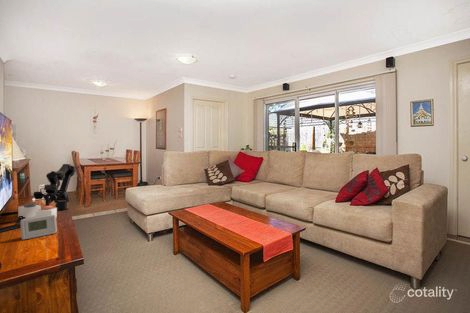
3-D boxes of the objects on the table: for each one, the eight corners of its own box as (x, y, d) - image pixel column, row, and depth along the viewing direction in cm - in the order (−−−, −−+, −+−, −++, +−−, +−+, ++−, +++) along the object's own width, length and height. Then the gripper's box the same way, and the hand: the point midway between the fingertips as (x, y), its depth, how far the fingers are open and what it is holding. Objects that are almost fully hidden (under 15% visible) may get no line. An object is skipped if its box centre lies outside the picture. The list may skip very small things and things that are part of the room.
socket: (32, 213, 180) (33, 204, 179) (40, 215, 176) (40, 205, 176) (18, 216, 171) (18, 206, 171) (26, 218, 168) (26, 208, 168)
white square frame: (41, 217, 171) (41, 207, 171) (56, 217, 174) (56, 207, 174) (35, 221, 163) (35, 210, 162) (51, 220, 165) (51, 210, 165)
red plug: (42, 216, 170) (43, 204, 170) (53, 216, 172) (54, 204, 172) (38, 218, 164) (38, 207, 164) (49, 218, 166) (50, 206, 166)
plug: (32, 213, 178) (32, 202, 178) (37, 214, 175) (37, 203, 175) (21, 215, 172) (21, 204, 172) (27, 217, 170) (27, 205, 169)
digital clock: (20, 241, 129) (20, 221, 129) (19, 236, 136) (20, 217, 136) (57, 235, 140) (58, 216, 140) (55, 230, 147) (56, 213, 147)
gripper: (34, 180, 170) (26, 199, 160) (66, 180, 175) (59, 198, 165) (39, 189, 178) (31, 208, 167) (69, 189, 183) (63, 207, 173)
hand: (46, 205), depth 168 cm, fingers closed, pressing on red plug
